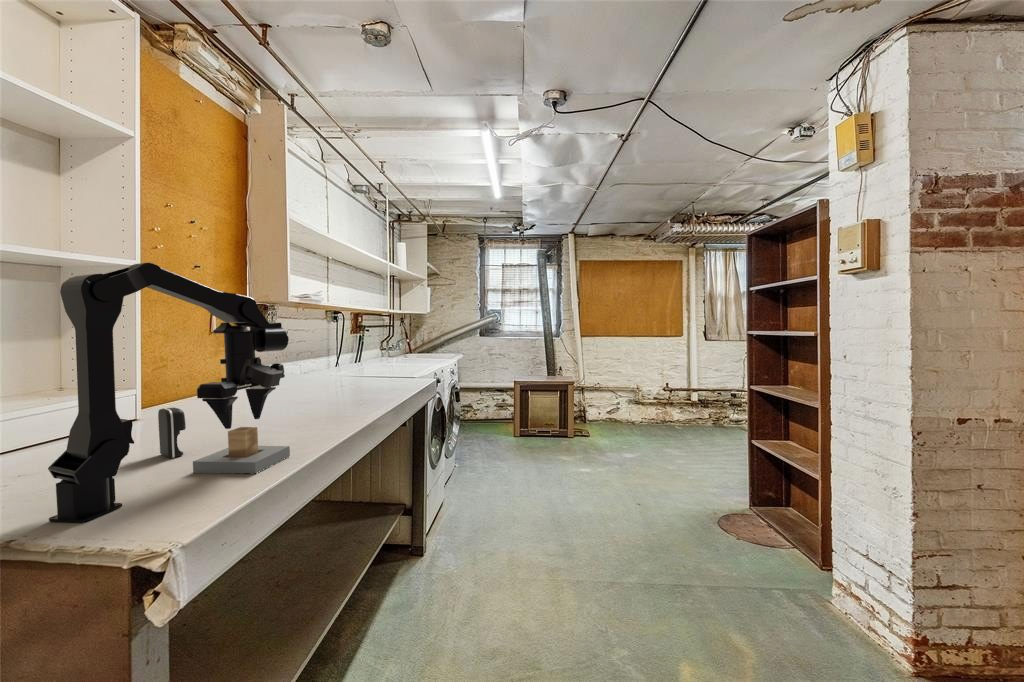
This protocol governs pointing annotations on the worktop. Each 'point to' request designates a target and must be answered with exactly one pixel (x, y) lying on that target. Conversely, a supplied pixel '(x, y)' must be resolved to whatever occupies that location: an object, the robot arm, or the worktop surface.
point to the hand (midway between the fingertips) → (243, 423)
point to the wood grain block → (243, 442)
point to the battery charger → (170, 430)
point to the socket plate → (241, 461)
